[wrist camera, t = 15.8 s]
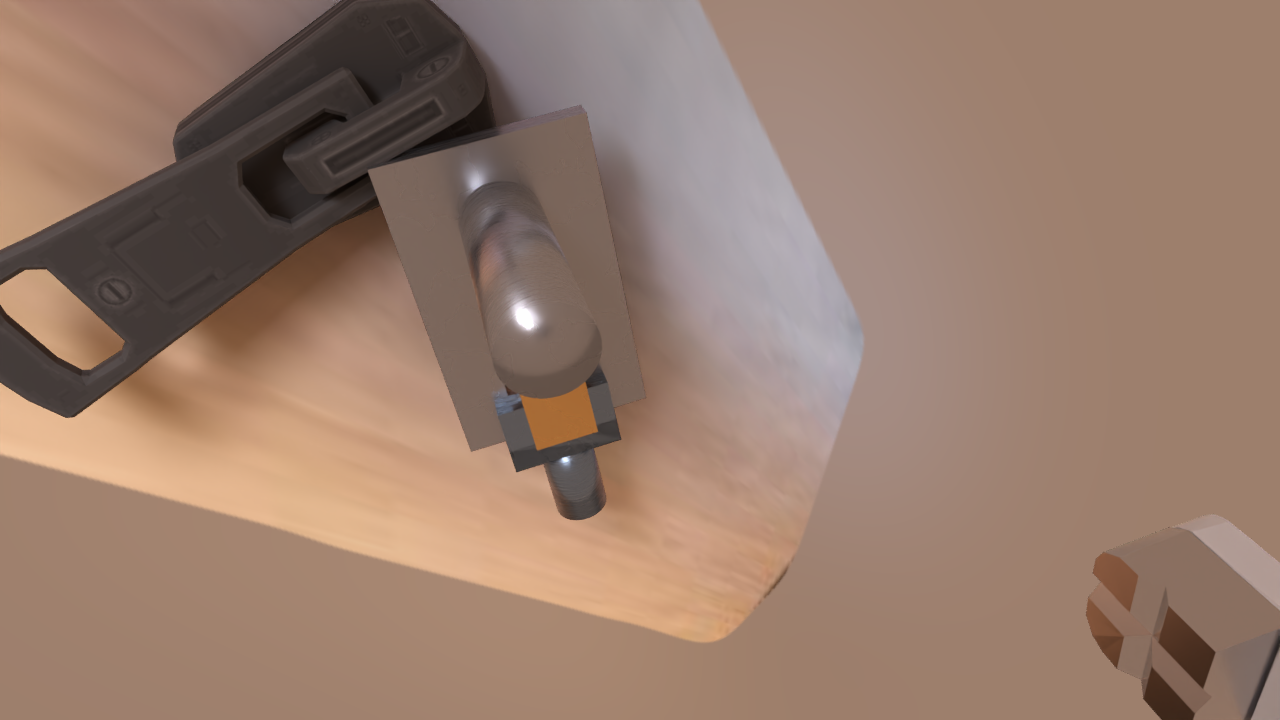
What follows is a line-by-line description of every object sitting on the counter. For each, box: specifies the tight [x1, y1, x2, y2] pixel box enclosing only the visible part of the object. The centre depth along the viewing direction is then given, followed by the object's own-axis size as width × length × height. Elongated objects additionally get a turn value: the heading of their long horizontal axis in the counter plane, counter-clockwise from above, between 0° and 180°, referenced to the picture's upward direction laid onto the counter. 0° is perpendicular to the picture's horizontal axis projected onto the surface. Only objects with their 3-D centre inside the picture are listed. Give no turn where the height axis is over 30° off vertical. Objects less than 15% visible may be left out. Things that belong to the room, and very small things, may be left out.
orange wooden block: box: [520, 382, 598, 450], centre depth 46 cm, size 4×3×12 cm
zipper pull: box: [0, 0, 496, 418], centre depth 40 cm, size 9×7×25 cm
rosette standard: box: [367, 105, 646, 520], centre depth 44 cm, size 23×10×18 cm, turn 10°
